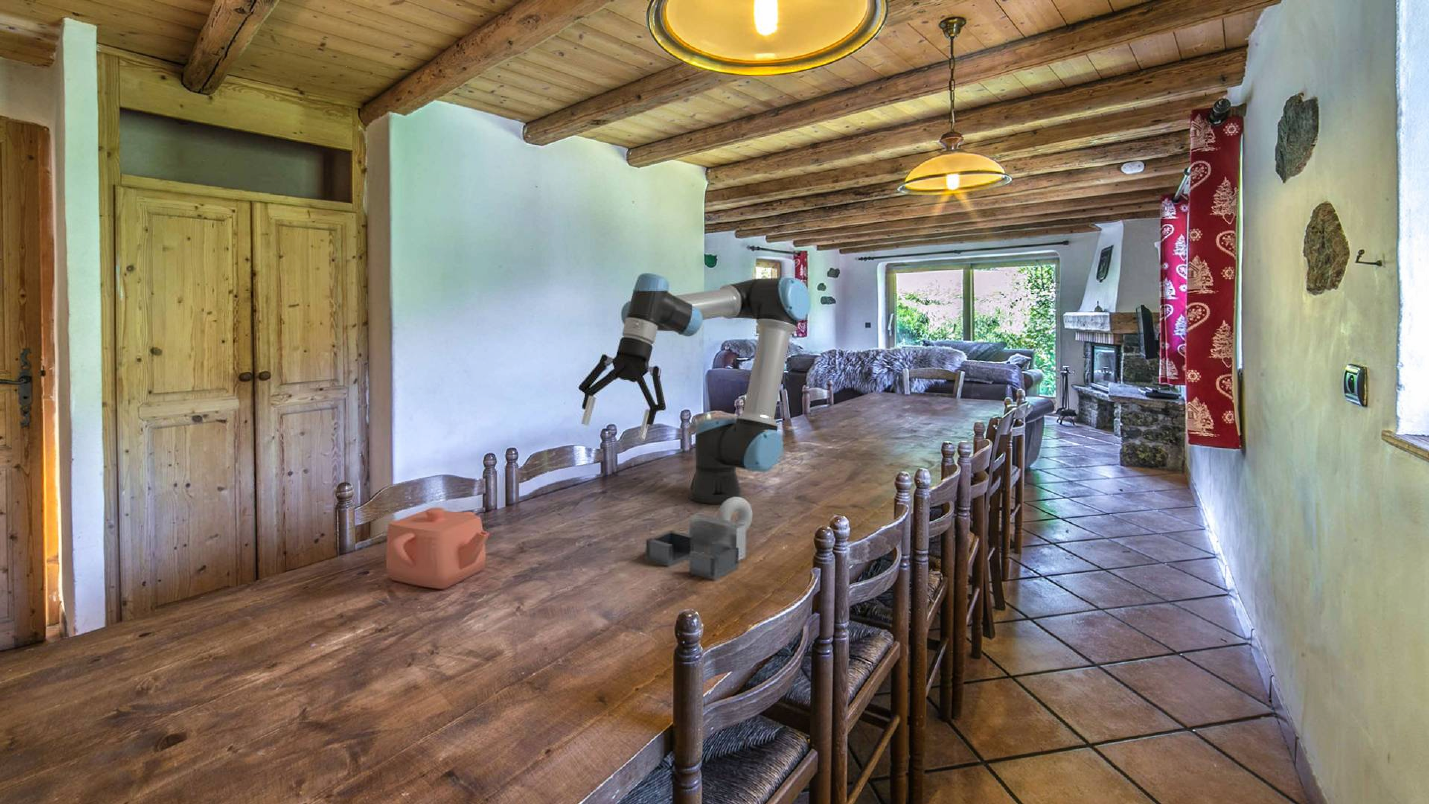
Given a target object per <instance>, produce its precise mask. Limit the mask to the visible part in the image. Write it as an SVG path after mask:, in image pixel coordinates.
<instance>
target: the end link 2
mask: <svg viewBox="0 0 1429 804" xmlns="http://www.w3.org/2000/svg"><path fill="white" fill-rule="evenodd" d="M739 561H740V560H739V548H737V547H734V546H730V545H726V544H722V543H718V542H712V543H711V555H710V554H706V553H703V552H699V551H695V550H694V551H691V552H690V558H689V574H691V575H694V576H697V577H701V578H704V579H708V580H711V581H713V582H714V581H717V580H718V579H721V578H723V577H724V576H727V575H728V574H731V573H733V572H735V571H737V570H738V569H739Z"/></svg>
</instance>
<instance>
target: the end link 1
mask: <svg viewBox="0 0 1429 804" xmlns="http://www.w3.org/2000/svg"><path fill="white" fill-rule="evenodd" d="M645 542H646V543H645V544H646V547H645V550H646V554H645V555H646V557H645V559H646V561H648V562H651V563H655V564H658V565H661V566H664V567H668V568H670V567H673V566H674V565H676V564H679V563H681V562H683V561H686V560H688V559H690V552H691V551H695V550H694V536H691V535H689V534H687V533H683V532H679V531H675V530H670V531H666V532H664V533H661V534H659V535H656V536H654V537H651V538H647V539H646V541H645Z"/></svg>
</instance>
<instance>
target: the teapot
mask: <svg viewBox="0 0 1429 804" xmlns="http://www.w3.org/2000/svg"><path fill="white" fill-rule="evenodd" d="M483 528H484V527H483V524H482V518H481V517H480V516H479V515H477V514H476V515H475V512H473V511H463V512H458V511H450V510H445V508H442V507H431V508H428V509H425V510H423V511H420V512H417V513H415V514H412V515H409V516H406V517H403V518H400V519H398V520H395V521H392V522H389V523H388V526H387V537H386V550H385V552H386V553H385V563H386V564H385V565H386V566H385V567H386V572H387V576H388V579H390V580H392V581H395V582H400V583H403V584H404V583H405V584H408V585H413V586H419V587H424V588H429V589H437V590H438V589H440V590H446V589H447V588H450V587H452V586H455V585H456V584H458V583H460V582H462V581H464V580H466V579H468V578H471V577H472V576H474V575H476V574H477V573H480V572H481V571H483V570H485V566H486V559H487V556H486V554H487V553H486V542H487V540H488V538H489V536H490V533H489V532H486V531H484V530H483Z"/></svg>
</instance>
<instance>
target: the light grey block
mask: <svg viewBox="0 0 1429 804" xmlns="http://www.w3.org/2000/svg"><path fill="white" fill-rule="evenodd" d="M688 532H689V534H688V535H691V536H694V551H697V552H700V553H704V554H706V553H708V555H710V554H711V543H712V542H718V543H722V544H726V545H730V546H734V547H737V548H739V561H741V560H742V559H744V558H746V548H747V547H746V543H747V542H746V539H747V535H746V534H747V533H746V532H747V531H746V525H745V524H741V523H736V521H731V520H730V521H728V520H724V519H719V518H716V517H714V516H710V515H705V514H701V513H697V514H694V515H692V516H690V517H689V531H688ZM740 559H741V560H740Z"/></svg>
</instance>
